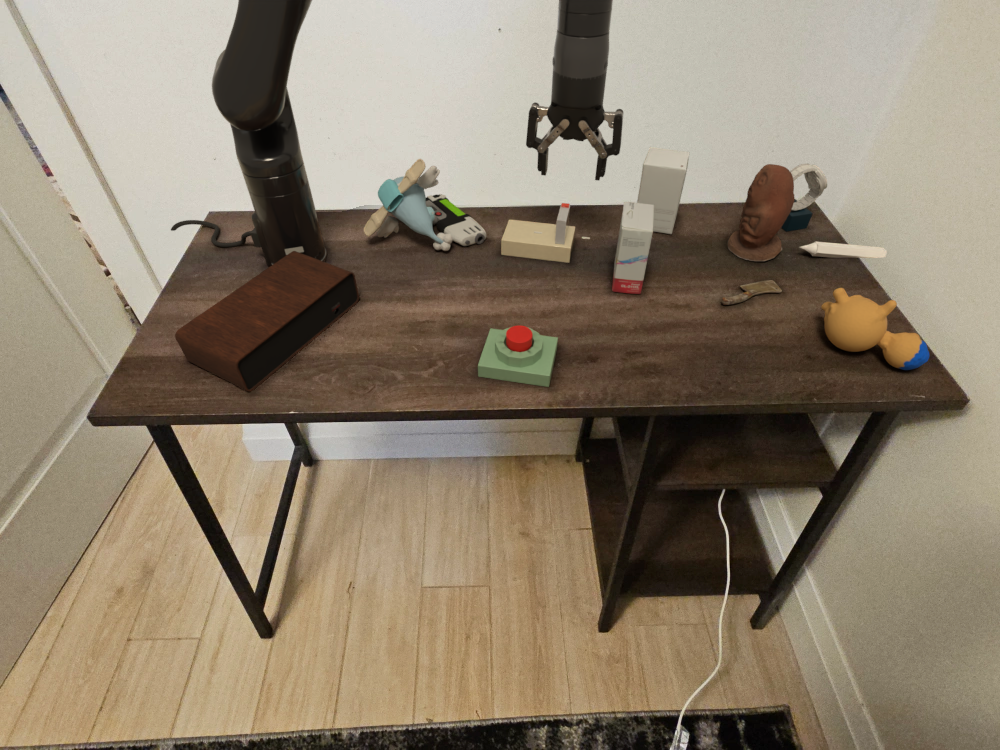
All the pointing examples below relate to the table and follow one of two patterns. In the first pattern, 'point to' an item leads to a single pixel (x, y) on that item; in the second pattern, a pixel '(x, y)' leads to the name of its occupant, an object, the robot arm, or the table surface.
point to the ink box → (633, 247)
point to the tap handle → (562, 223)
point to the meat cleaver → (752, 291)
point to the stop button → (519, 338)
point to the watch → (816, 184)
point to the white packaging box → (663, 185)
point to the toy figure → (408, 206)
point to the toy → (871, 330)
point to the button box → (518, 359)
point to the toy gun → (455, 221)
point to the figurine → (764, 214)
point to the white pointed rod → (843, 250)
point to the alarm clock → (268, 319)
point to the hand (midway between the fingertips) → (570, 175)
